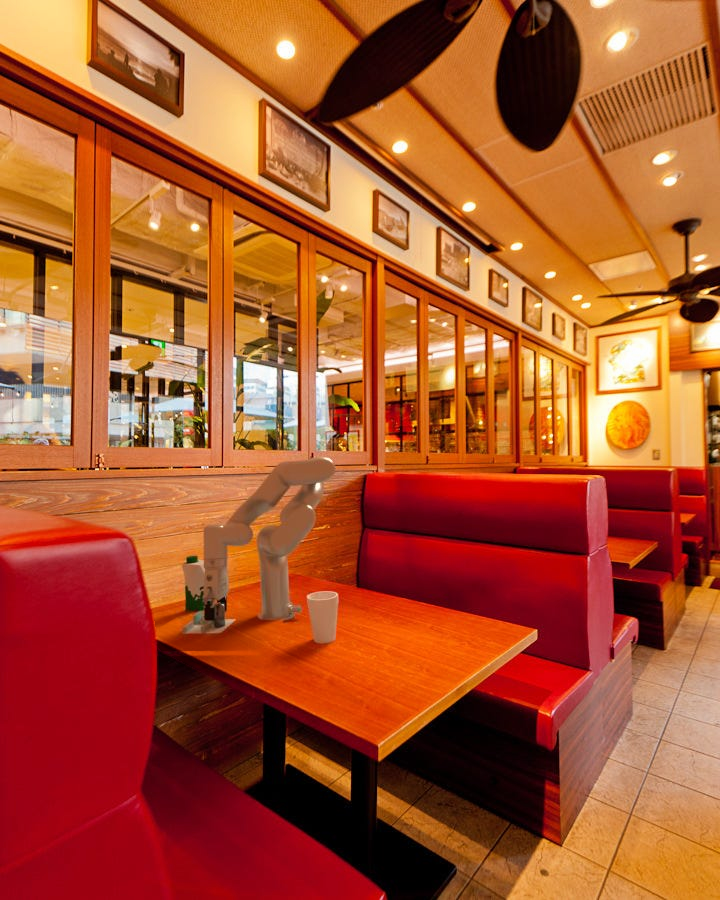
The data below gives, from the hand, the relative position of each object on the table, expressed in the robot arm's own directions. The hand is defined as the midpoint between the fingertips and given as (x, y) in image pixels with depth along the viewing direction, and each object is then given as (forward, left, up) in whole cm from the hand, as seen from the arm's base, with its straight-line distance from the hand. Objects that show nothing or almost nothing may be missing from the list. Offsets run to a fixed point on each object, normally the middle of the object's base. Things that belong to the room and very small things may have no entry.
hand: (215, 615), depth 160 cm
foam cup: (-37, +9, -5) cm, 39 cm away
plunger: (+5, -5, -3) cm, 7 cm away
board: (+3, -1, -5) cm, 5 cm away
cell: (-1, -1, -4) cm, 4 cm away
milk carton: (+16, -21, -5) cm, 27 cm away
